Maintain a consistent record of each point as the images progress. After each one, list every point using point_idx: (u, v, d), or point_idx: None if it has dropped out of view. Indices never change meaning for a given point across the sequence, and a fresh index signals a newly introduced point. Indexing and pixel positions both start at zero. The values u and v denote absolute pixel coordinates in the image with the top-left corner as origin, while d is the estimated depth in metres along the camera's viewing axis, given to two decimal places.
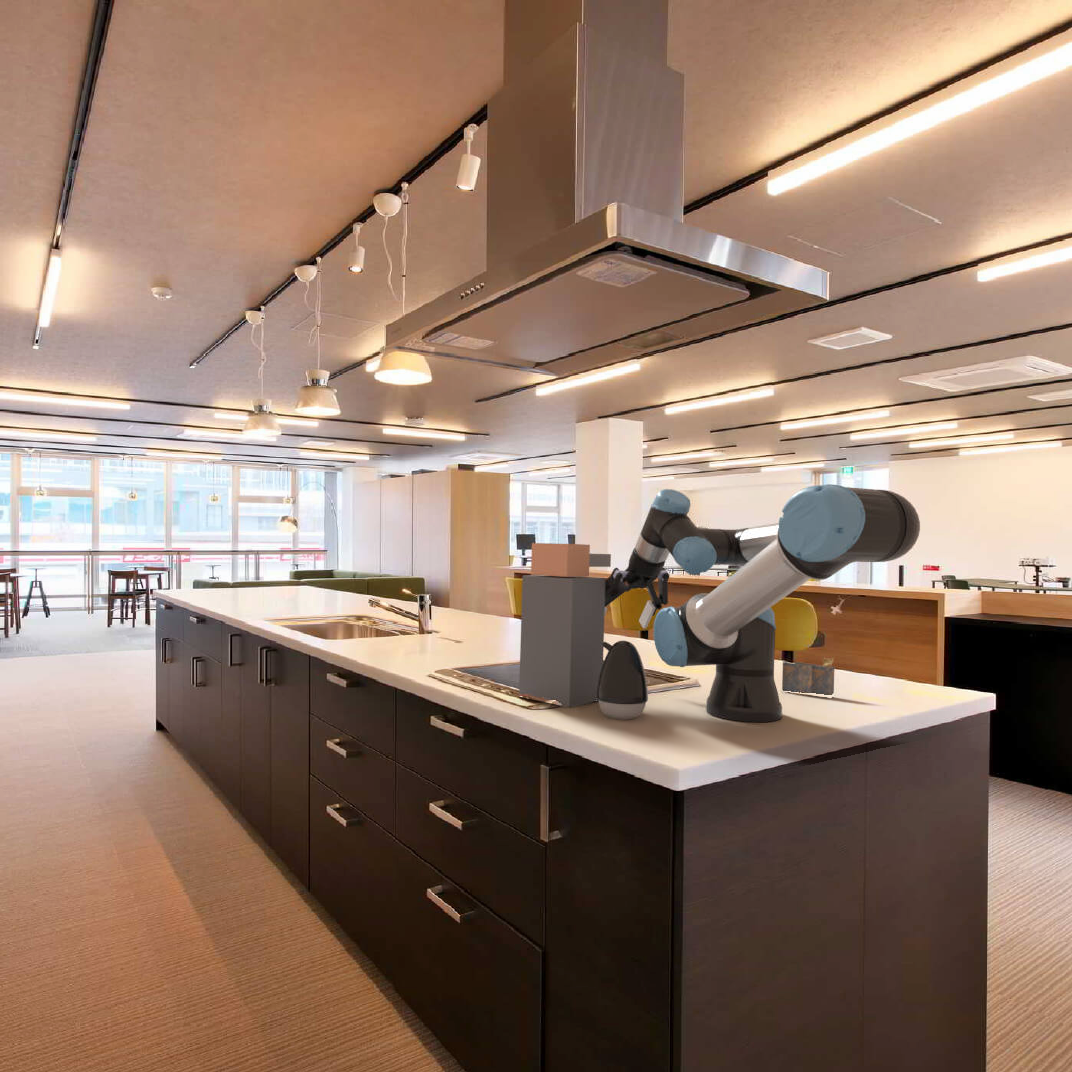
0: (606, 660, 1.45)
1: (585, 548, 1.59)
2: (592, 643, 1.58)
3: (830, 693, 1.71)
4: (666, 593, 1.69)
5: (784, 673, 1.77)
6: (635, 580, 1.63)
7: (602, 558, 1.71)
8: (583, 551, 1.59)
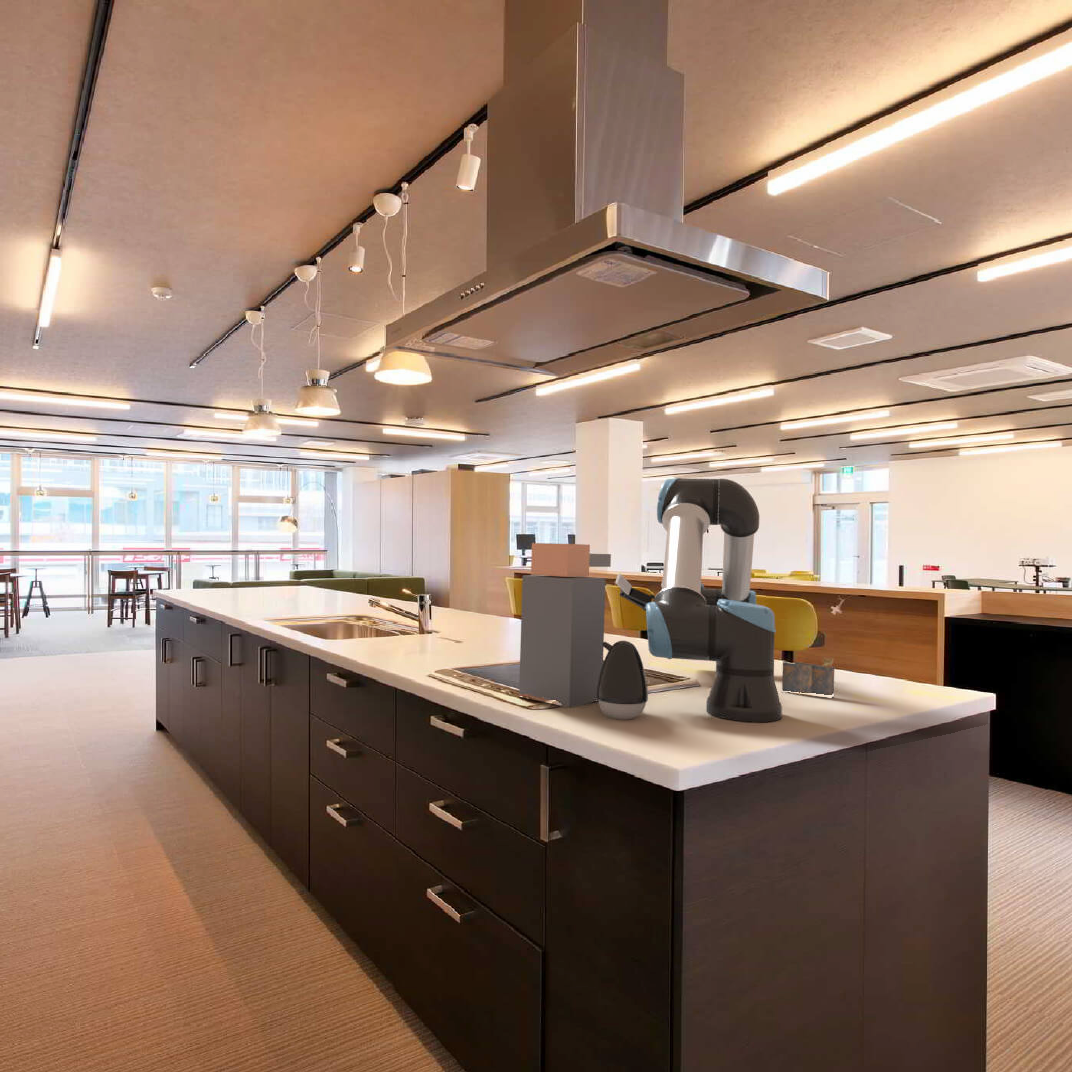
0: (606, 660, 1.45)
1: (585, 548, 1.59)
2: (592, 643, 1.58)
3: (830, 693, 1.71)
4: None
5: (784, 673, 1.77)
6: None
7: (602, 558, 1.71)
8: (583, 551, 1.59)
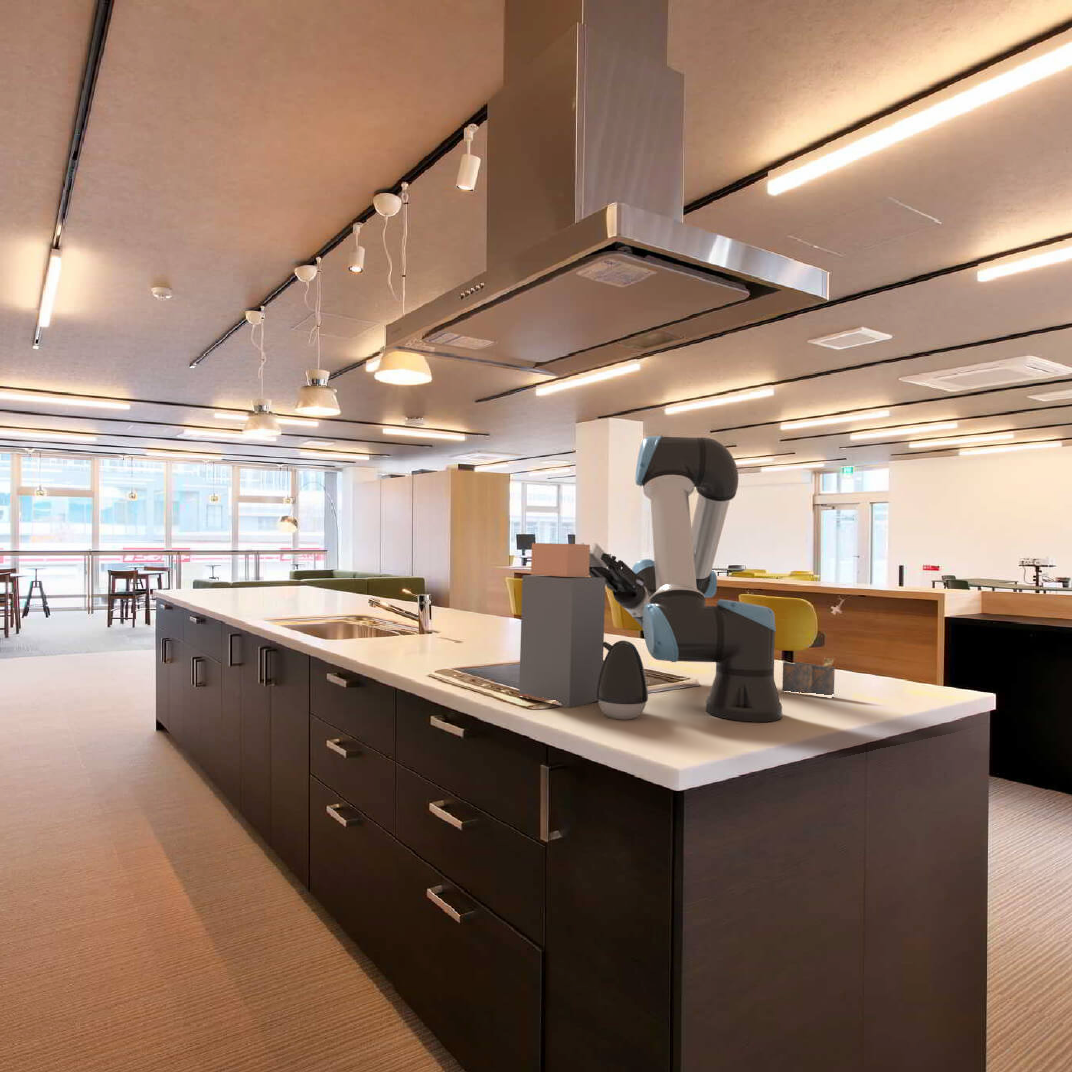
0: (606, 660, 1.45)
1: (585, 548, 1.59)
2: (592, 643, 1.58)
3: (830, 693, 1.71)
4: None
5: (784, 673, 1.77)
6: None
7: None
8: (583, 551, 1.59)
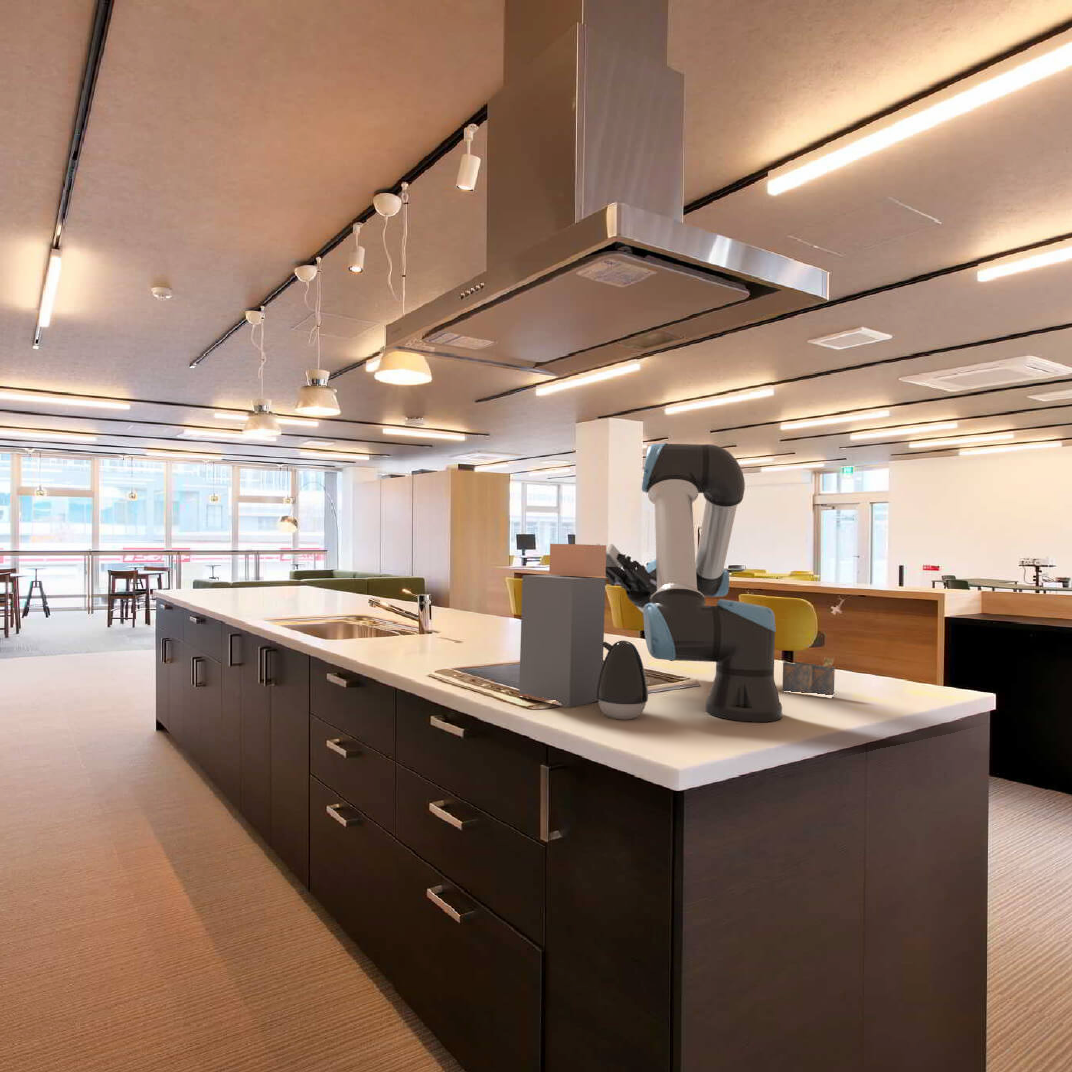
0: (606, 660, 1.45)
1: (602, 549, 1.64)
2: (592, 643, 1.58)
3: (830, 693, 1.71)
4: None
5: (784, 673, 1.77)
6: None
7: None
8: (600, 552, 1.64)
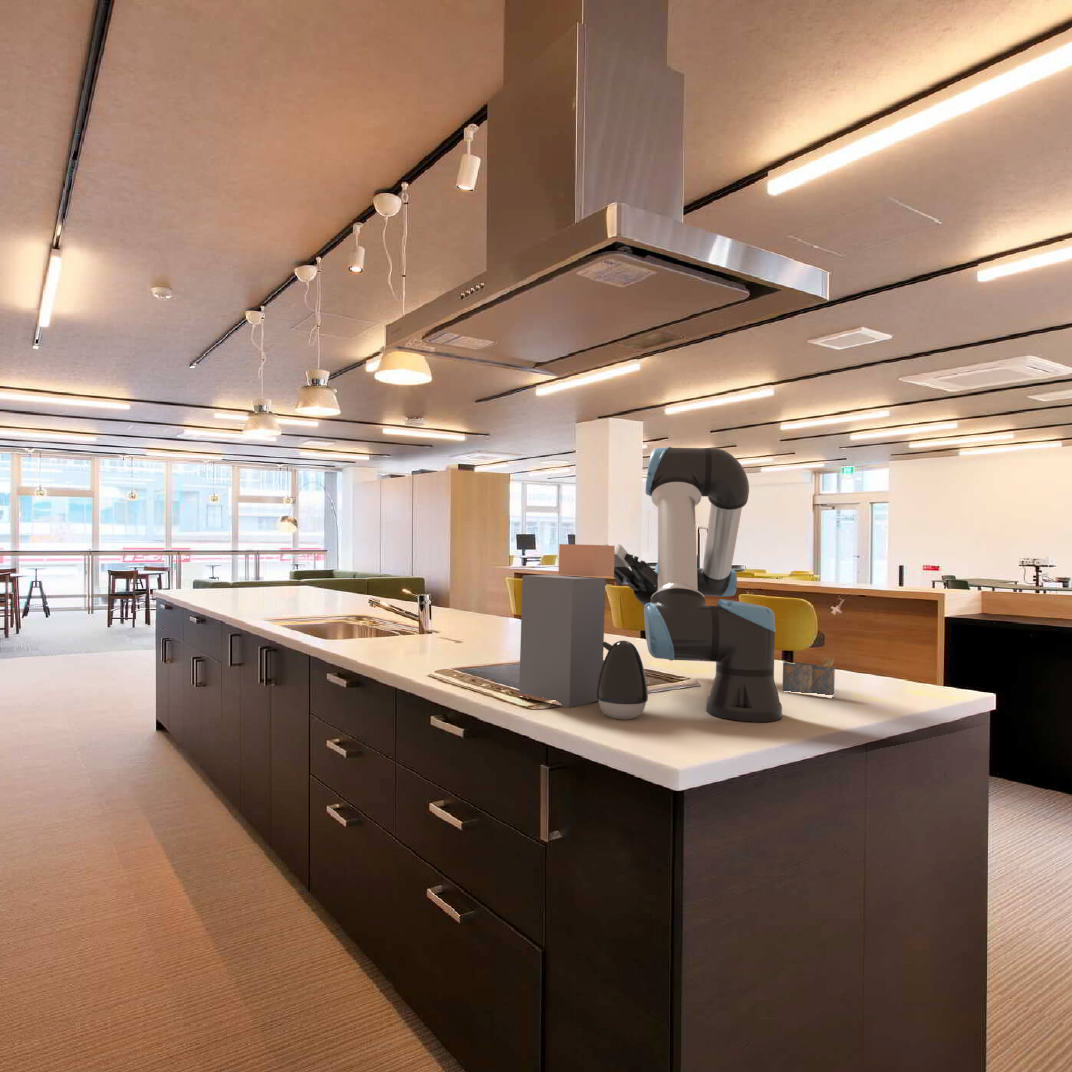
0: (606, 660, 1.45)
1: (611, 549, 1.67)
2: (592, 643, 1.58)
3: (830, 693, 1.71)
4: None
5: (784, 673, 1.77)
6: None
7: None
8: (608, 552, 1.66)
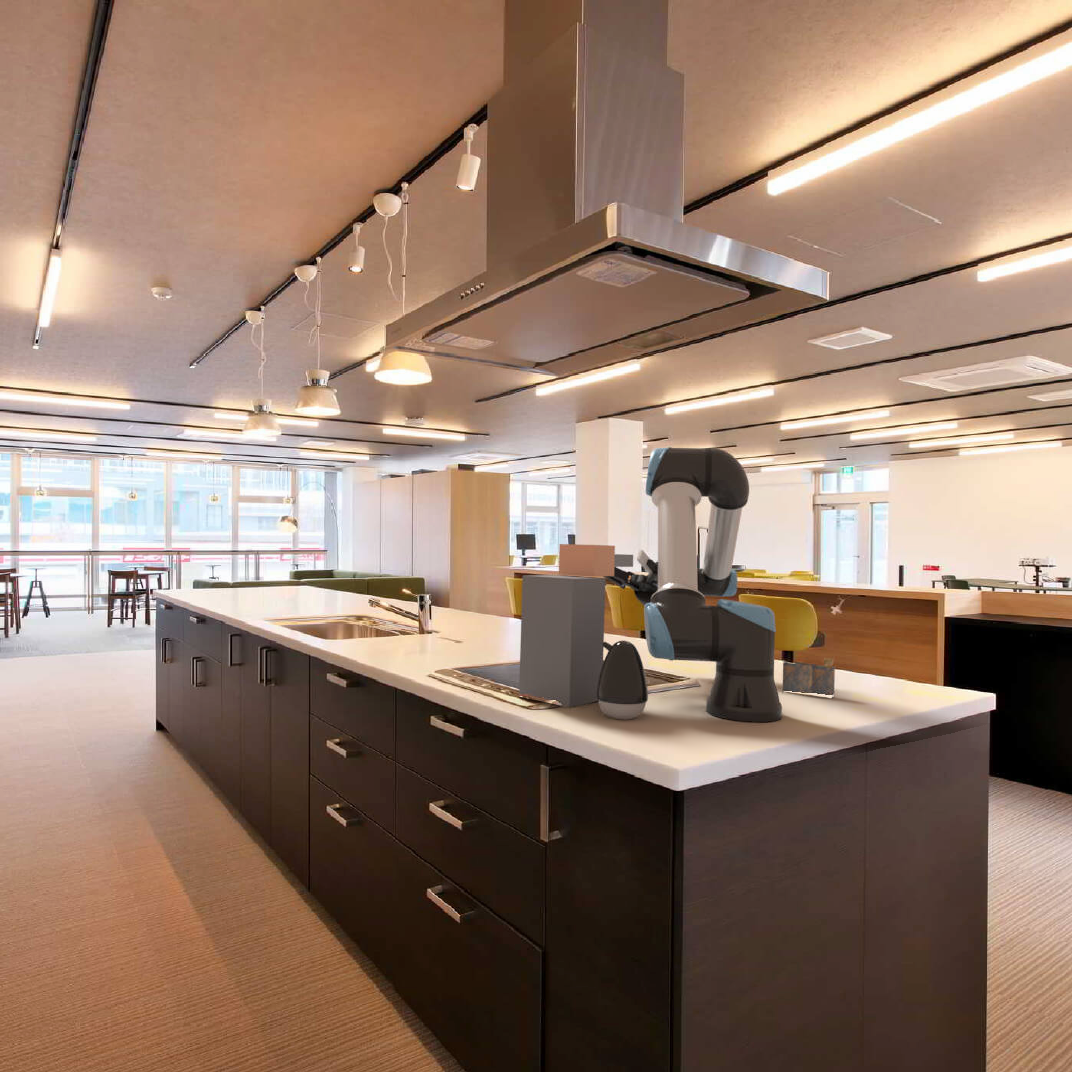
0: (606, 660, 1.45)
1: (611, 549, 1.67)
2: (592, 643, 1.58)
3: (830, 693, 1.71)
4: None
5: (784, 673, 1.77)
6: None
7: (626, 558, 1.78)
8: (609, 552, 1.66)
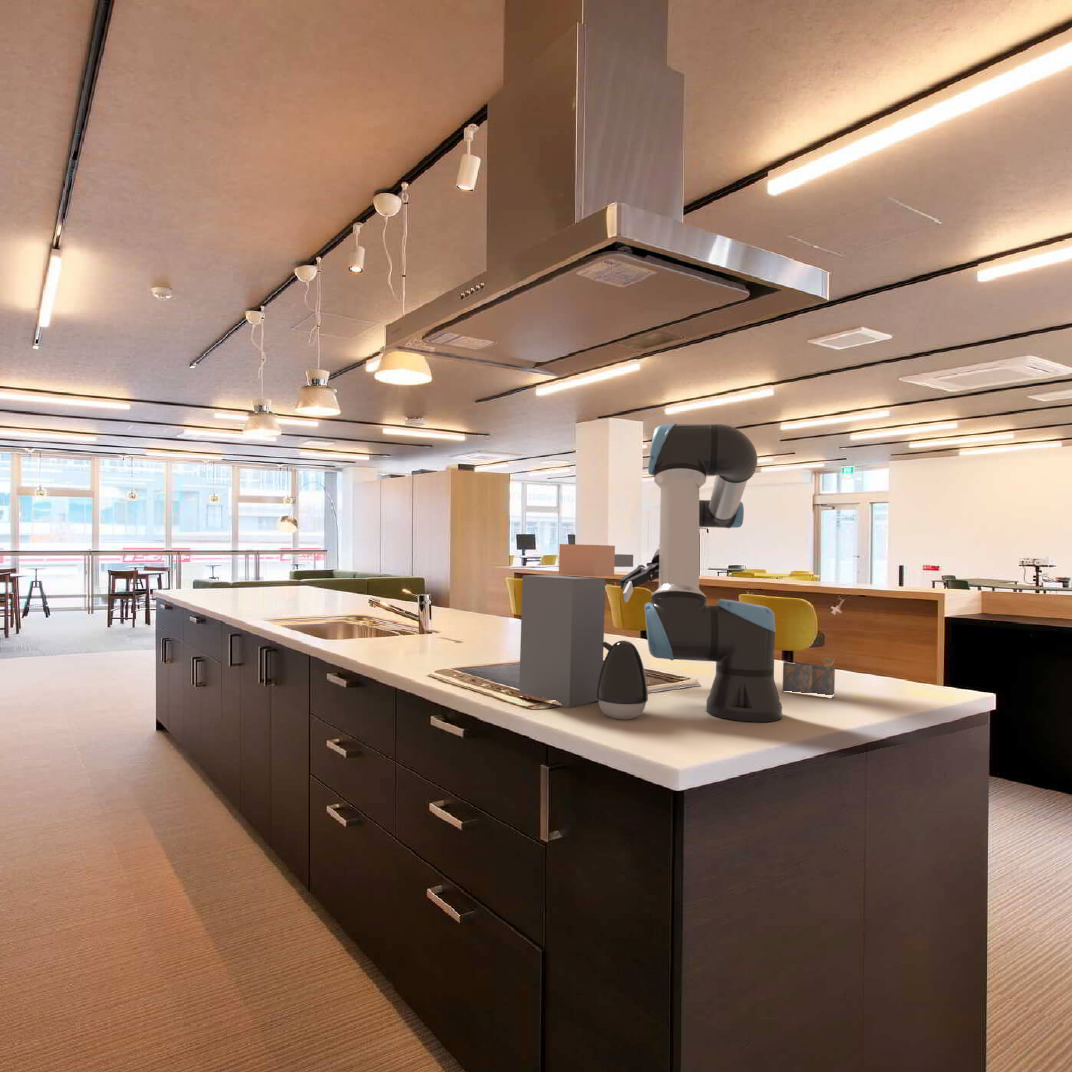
0: (606, 660, 1.45)
1: (611, 549, 1.67)
2: (592, 643, 1.58)
3: (830, 693, 1.71)
4: None
5: (784, 673, 1.77)
6: None
7: (626, 558, 1.78)
8: (609, 552, 1.66)
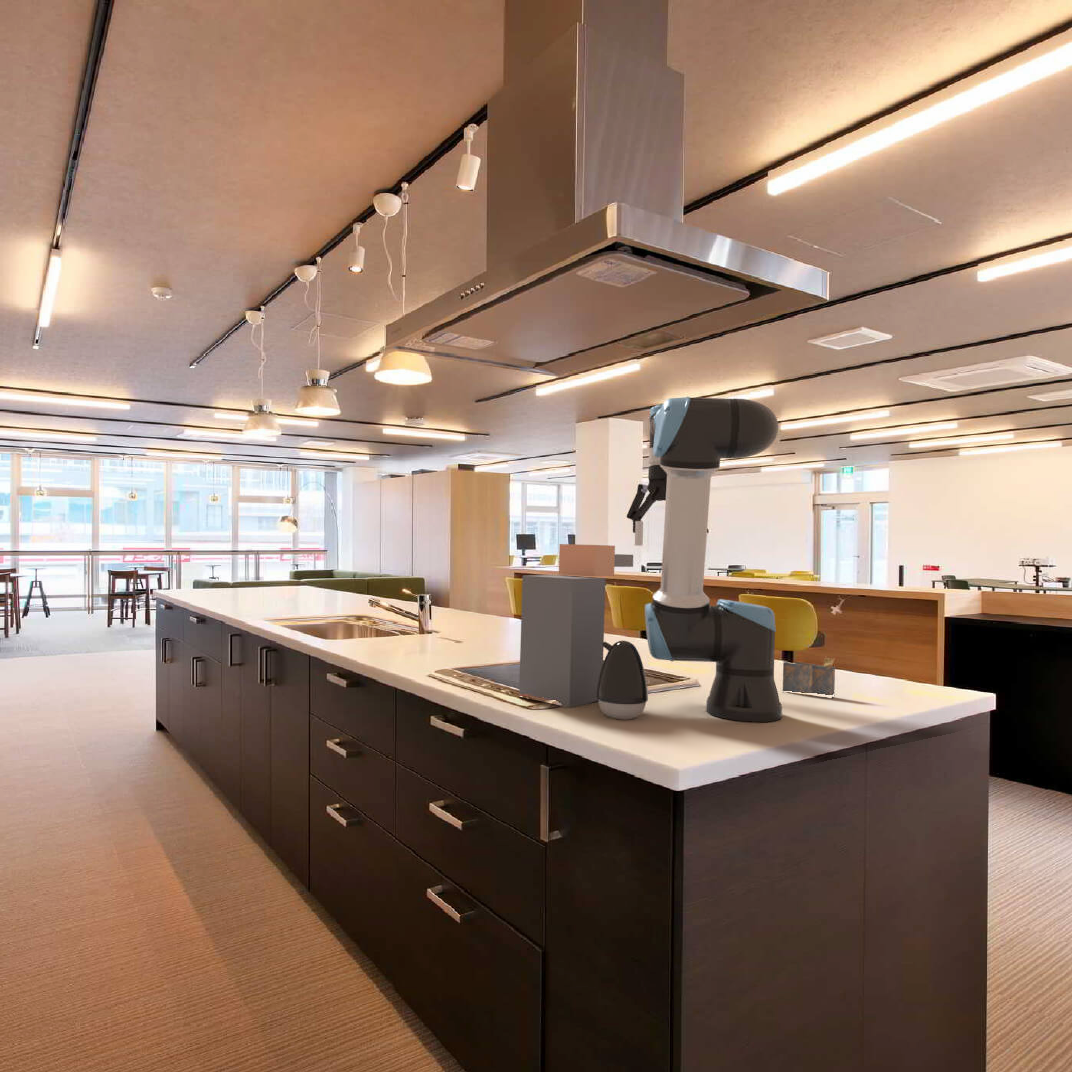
0: (606, 660, 1.45)
1: (611, 549, 1.67)
2: (592, 643, 1.58)
3: (831, 693, 1.71)
4: None
5: (785, 673, 1.77)
6: None
7: (626, 558, 1.78)
8: (609, 552, 1.66)
